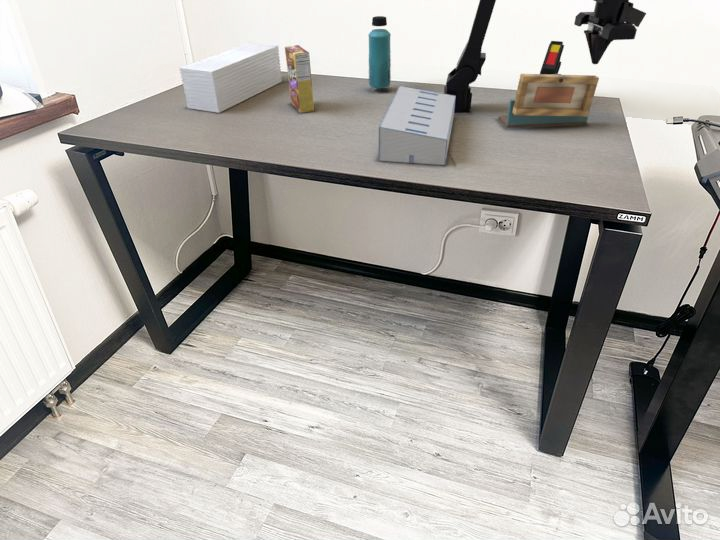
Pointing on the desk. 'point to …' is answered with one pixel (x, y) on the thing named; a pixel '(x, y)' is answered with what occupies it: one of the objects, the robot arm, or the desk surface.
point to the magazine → (552, 58)
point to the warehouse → (417, 127)
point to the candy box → (299, 78)
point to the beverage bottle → (379, 54)
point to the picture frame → (554, 95)
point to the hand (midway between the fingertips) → (594, 63)
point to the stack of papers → (231, 76)
